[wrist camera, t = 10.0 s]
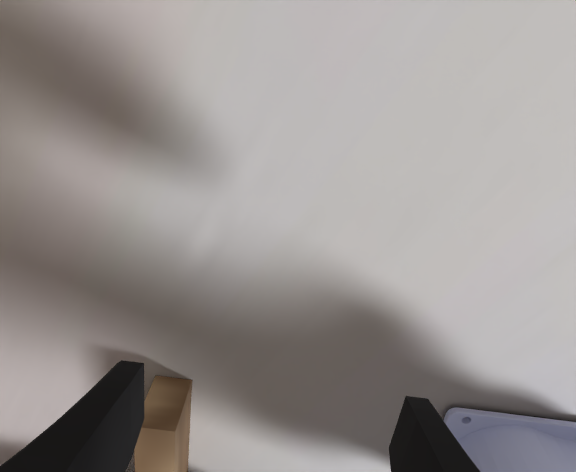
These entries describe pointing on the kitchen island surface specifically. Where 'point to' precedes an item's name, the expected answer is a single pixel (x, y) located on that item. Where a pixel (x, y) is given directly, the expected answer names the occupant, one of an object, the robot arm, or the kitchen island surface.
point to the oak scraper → (165, 427)
